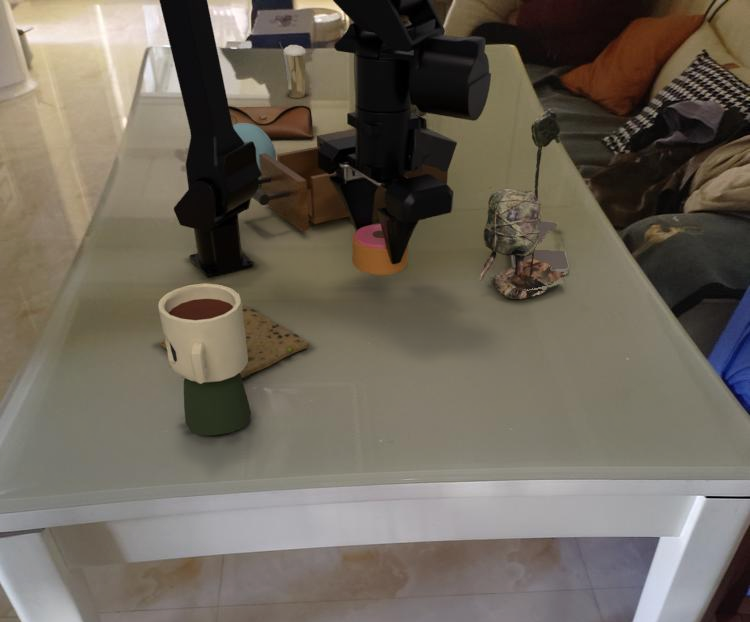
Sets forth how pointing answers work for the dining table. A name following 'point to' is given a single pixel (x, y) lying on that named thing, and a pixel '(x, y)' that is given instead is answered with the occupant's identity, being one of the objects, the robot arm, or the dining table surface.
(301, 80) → the milkshake
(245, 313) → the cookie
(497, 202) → the plant with pod
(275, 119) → the sunglasses case
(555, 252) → the smartphone
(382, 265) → the donut
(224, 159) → the robot arm
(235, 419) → the character mug
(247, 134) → the light blue ball
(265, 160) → the drawer
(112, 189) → the dining table surface
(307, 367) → the dining table surface
